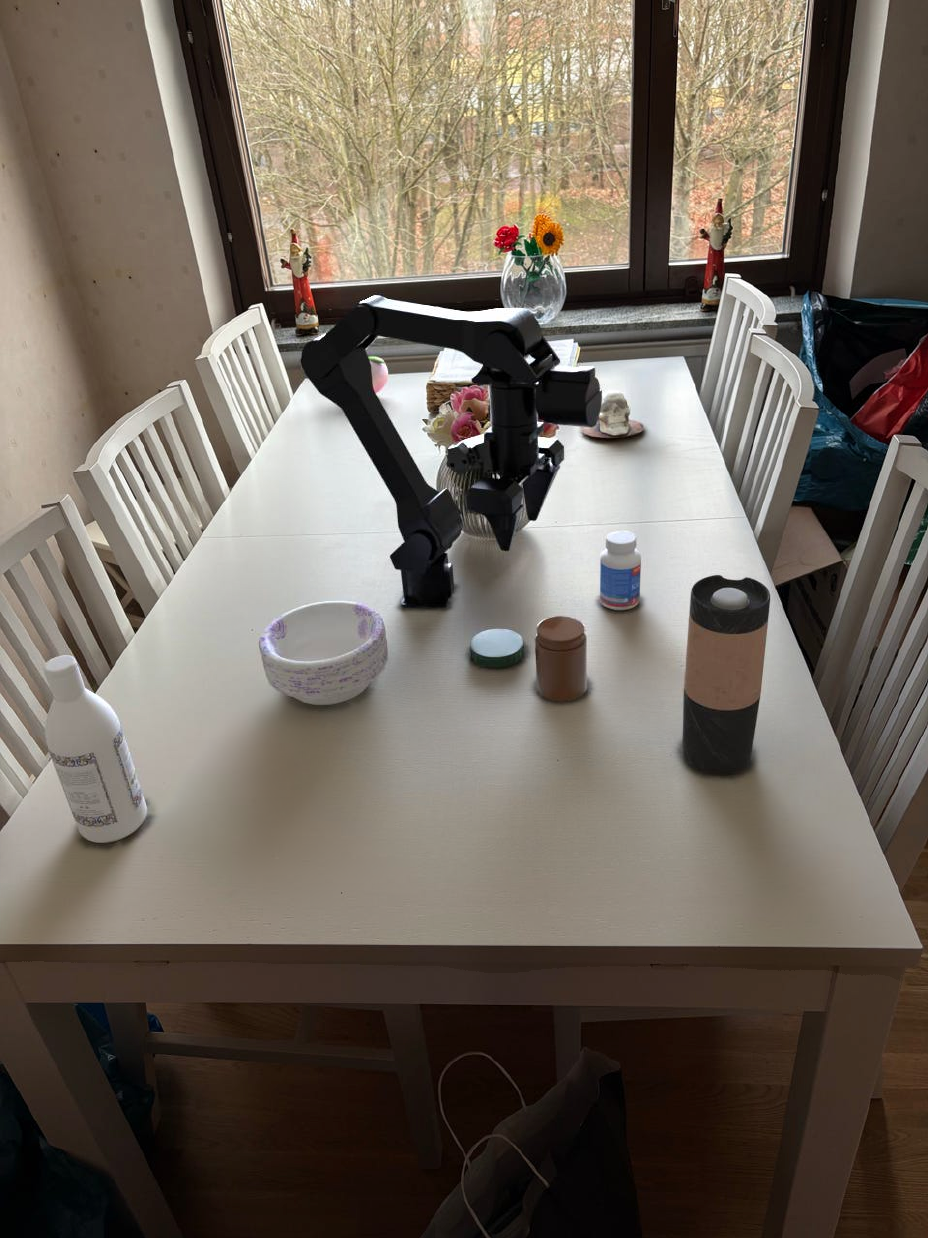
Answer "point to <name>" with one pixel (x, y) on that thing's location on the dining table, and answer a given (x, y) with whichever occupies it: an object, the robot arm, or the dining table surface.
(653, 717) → the dining table surface
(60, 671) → the bath foam
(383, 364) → the decorative fruit
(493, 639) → the jar lid
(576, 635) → the honey jar
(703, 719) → the travel mug
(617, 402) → the skull
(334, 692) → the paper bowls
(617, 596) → the pill bottle
